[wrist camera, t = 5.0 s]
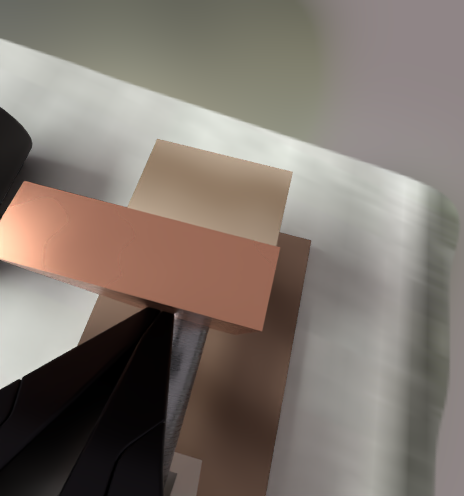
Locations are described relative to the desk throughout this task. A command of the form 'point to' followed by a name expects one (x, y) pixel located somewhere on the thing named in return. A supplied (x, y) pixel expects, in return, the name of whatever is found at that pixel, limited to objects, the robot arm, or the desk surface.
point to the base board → (235, 384)
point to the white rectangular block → (183, 476)
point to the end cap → (11, 150)
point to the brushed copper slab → (145, 272)
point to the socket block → (213, 191)
